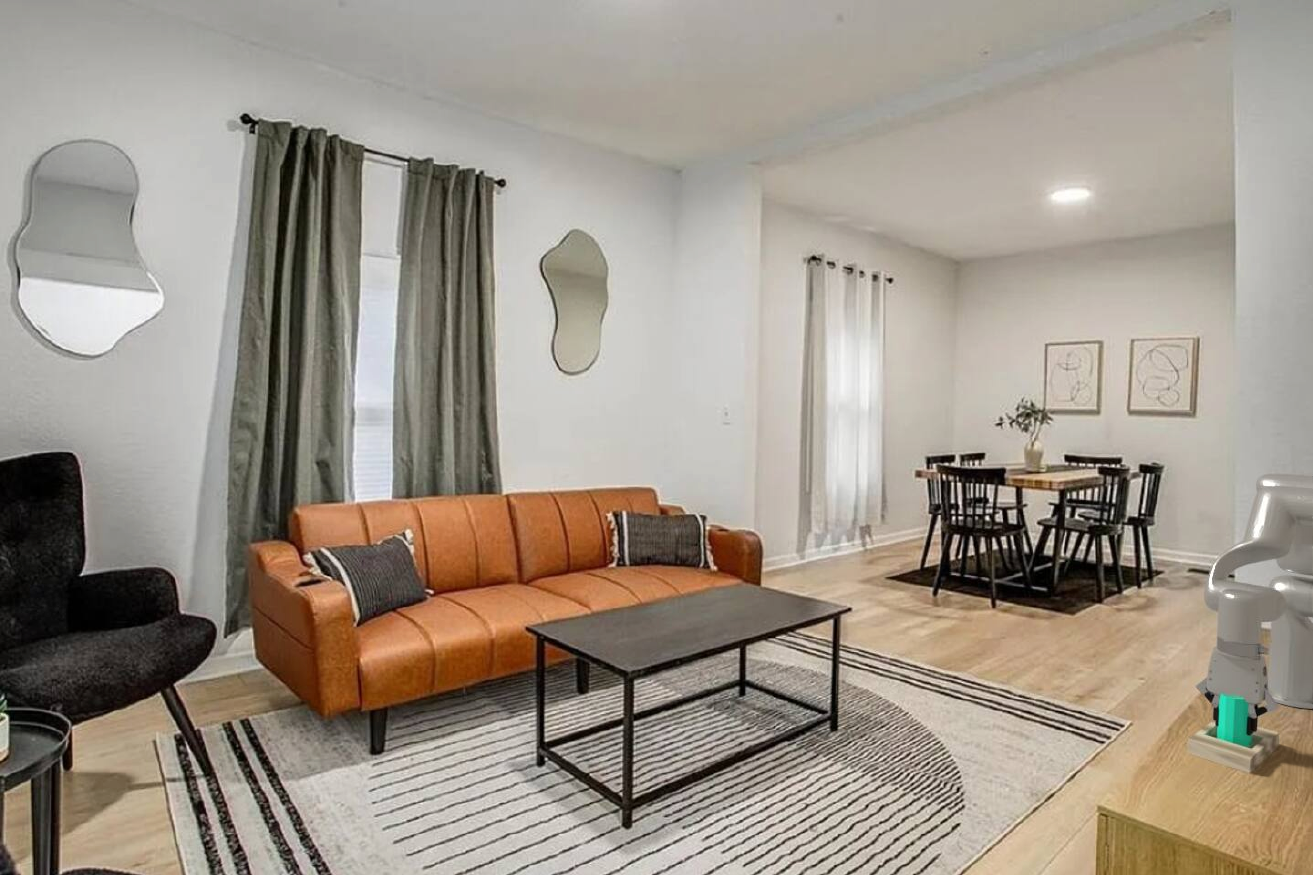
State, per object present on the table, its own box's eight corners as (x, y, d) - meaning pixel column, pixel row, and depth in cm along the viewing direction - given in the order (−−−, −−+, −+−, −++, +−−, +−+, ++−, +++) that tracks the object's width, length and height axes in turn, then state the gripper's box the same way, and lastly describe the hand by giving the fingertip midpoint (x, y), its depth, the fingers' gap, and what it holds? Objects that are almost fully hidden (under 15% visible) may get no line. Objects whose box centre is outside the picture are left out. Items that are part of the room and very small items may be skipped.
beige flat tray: (1218, 728, 176) (1219, 715, 175) (1278, 745, 167) (1279, 732, 167) (1187, 752, 164) (1187, 739, 163) (1249, 773, 155) (1250, 759, 155)
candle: (1257, 748, 162) (1260, 693, 161) (1225, 745, 163) (1228, 691, 162) (1241, 736, 168) (1244, 683, 167) (1211, 733, 169) (1213, 681, 168)
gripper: (1293, 654, 160) (1288, 738, 161) (1198, 633, 173) (1195, 711, 174) (1282, 662, 155) (1278, 748, 156) (1186, 640, 168) (1183, 720, 170)
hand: (1234, 728), depth 165 cm, fingers closed on candle, 4 cm apart
